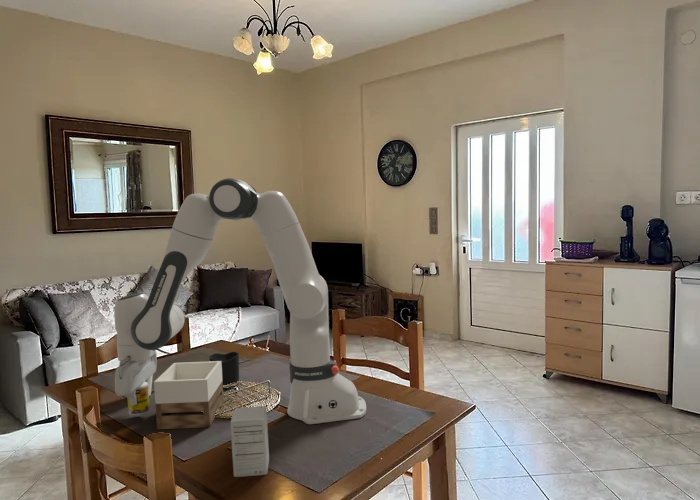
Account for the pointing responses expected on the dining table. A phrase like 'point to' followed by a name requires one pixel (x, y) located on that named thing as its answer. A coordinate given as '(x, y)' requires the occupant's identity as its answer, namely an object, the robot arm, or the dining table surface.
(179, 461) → the dining table surface
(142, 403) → the supplement bottle
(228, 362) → the pen holder
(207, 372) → the upper crate
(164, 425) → the lower crate
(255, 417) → the supplement box
